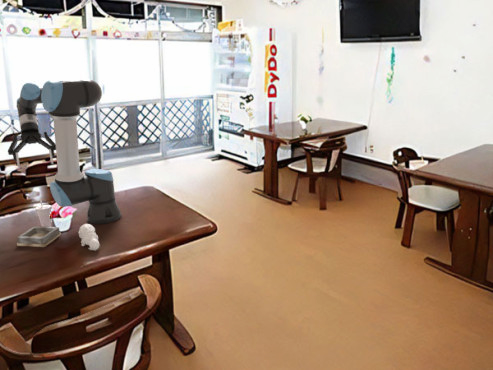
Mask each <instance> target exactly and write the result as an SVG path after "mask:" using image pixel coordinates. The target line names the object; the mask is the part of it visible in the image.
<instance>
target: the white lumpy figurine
mask: <svg viewBox="0 0 493 370" xmlns="http://www.w3.org/2000/svg"><path fill="white" fill-rule="evenodd" d="M78 237H79V238H80V239H81V241H80V243H81V247H84V246H86V245H87V246H89V247H87V248H88V250H90V251H97V250H98V249H99V248H100V246H101V244H100V242H99V236H98V234H97V233H96V228H95V227H94V226H93V225H92V224H91V223H84V224H82V225H81V226H80V227H79V229H78Z"/></svg>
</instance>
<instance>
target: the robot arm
mask: <svg viewBox="0 0 493 370" xmlns="http://www.w3.org/2000/svg"><path fill="white" fill-rule="evenodd" d="M19 94H20V95H19V98H17V99H16V109H17V114H18V121H19V126H20V127H19V129H20V135H17V134H14V135H13V139H12V141H11V143H10V146H9V147H8V149H7V154H8V155H9V156H13V157H12V158H13V161H14V162H16V164H17V168H18V169H20V168H21V165H20V158H19V153H20V152H21V150H23V148H24V147H25V146H27V144H28V145H31V144H37V143H38V145H41V146H42V147H44V148H46V149H47V150H48V151H49V158H50V164H51V165H54V159H53V158H54V157H56V164H57V166H56V167H57V173H56V174H55V175H54V180H53V181H51V182H50V184H49V188H50V190H49V191H50V192H51V196H52V198H53V200H54V202H55V203H56V204H57V205H58V206H60V207H61V208H66V207H72V206H75V205H78V204H81V203H85V202H88V207H87V208H88V209H87V214H86V220H87V222H88V223H89V224H94V225H100V224H101V225H102V224H110V223H113V222H116V221H117V220H120V218H121V217H122V212H121V209H120V207H119V206H118V203H117V201H116V192H115V184H114V176H113V174H112V171H110V170H108V169H103V168H102V169H100V168H99V169H98V168H95V169H87V170H85V171H84V173H83V172H81V170H80V169H81V167H80V154H79V151H80V150H79V141H78V140H79V139H78V138H79V137H78V126H77V125H78V123H77V118H78V117H79V116H80V114H81V109H83V108H90V107H93V106H95V105H97V104H98V103H99V102H100V100H101V98H102V96H103V95H102V94H103V92H102V88H101V86H100V84H98V82H96V81H95V80H93V79H90V78H65V79H64V78H63V79H60V78H59V79H54V80H48V81H45V82H44V83H43V86H39V85H38V84H36V83H33V82H26V83H24V84H23V85H22V87H21V90H20V93H19ZM38 104H39V105H40V104H42V107H43V109H44V110H45V111H46V112H48V115H49V116H50V117H51V118H52V119H53V120H52V121H53V131H54V140H55V142H54V140H53V139H52V138H50V136H49V135H48V133H47V132H46V131H44V132H43V133H40V128H39V124H38V118H37V113H36V109H37V106H38ZM42 138H43V139H45V140H46V141H45V140H43V139H42ZM20 139H21V141H20ZM18 141H20V142H19V143H18ZM17 143H18V145H17ZM55 152H56V153H55ZM55 154H56V155H55Z"/></svg>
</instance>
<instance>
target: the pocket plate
mask: <svg viewBox="0 0 493 370" xmlns="http://www.w3.org/2000/svg"><path fill="white" fill-rule="evenodd" d="M61 235H62V232H60V227H57V226H51V227H42V226H39V225H38V226H36V225H35V226H32V227H31V228H29V229H28V230H26V231H24V232H23V233H22V234H20V235H19V236H17V237H16V241H17V243H16V245H17V247H34V248H35V247H36V248H39V247H40V248H45V247H47V246H48V245H50V244H51V243H52V242H54V240H56V239H57V238H58V237H60V236H61Z"/></svg>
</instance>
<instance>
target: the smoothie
mask: <svg viewBox="0 0 493 370" xmlns="http://www.w3.org/2000/svg"><path fill="white" fill-rule="evenodd" d="M39 201H40V204H39V205H38V206H36V207H35V211H36V213H37V215H38V218H39V221H40V225H41V226H40V227H52V218H51V219H50V217H49V215H50V212H51V213H52V205H50V204H43V201H42V197H39Z"/></svg>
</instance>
